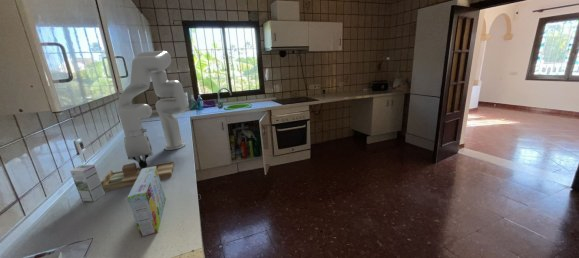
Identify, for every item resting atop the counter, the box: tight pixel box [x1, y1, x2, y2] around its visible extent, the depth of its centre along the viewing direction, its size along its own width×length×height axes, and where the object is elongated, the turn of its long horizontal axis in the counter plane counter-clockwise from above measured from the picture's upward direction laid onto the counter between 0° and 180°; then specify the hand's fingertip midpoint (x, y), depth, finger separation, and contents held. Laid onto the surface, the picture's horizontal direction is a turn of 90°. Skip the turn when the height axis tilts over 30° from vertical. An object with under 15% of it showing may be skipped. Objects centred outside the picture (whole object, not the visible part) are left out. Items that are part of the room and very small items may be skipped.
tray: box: [100, 160, 175, 192], centre depth 114 cm, size 14×28×4 cm, turn 110°
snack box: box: [126, 166, 167, 238], centre depth 82 cm, size 21×6×15 cm, turn 21°
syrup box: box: [69, 164, 106, 203], centre depth 97 cm, size 6×6×14 cm
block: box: [121, 162, 138, 176], centre depth 115 cm, size 5×5×4 cm
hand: (144, 168), depth 117 cm, fingers closed
